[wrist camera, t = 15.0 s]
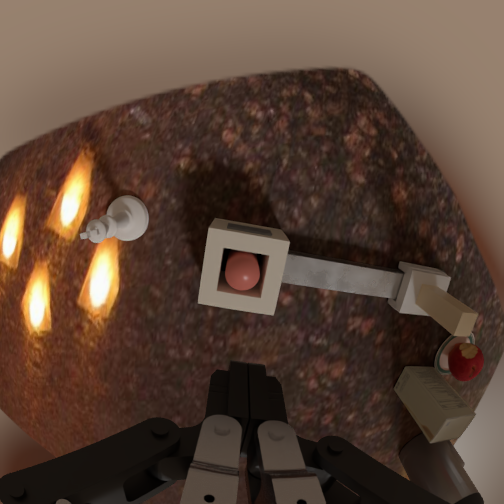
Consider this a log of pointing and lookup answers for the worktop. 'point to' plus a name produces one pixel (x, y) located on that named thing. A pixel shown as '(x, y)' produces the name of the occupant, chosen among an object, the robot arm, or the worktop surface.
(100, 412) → the worktop surface
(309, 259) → the rail
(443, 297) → the carriage
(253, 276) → the button
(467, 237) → the worktop surface
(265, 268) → the cream square box
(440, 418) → the skincare box
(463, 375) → the apple
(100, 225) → the chess piece
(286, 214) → the worktop surface
